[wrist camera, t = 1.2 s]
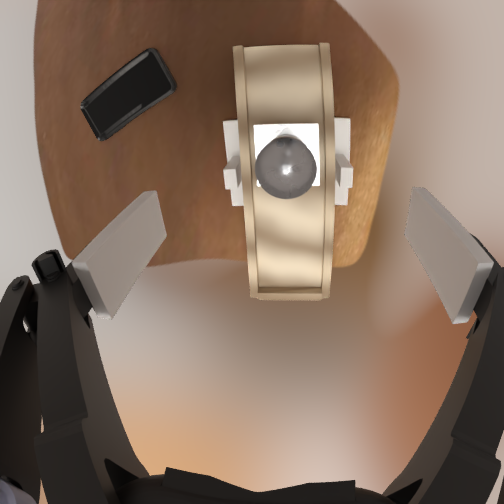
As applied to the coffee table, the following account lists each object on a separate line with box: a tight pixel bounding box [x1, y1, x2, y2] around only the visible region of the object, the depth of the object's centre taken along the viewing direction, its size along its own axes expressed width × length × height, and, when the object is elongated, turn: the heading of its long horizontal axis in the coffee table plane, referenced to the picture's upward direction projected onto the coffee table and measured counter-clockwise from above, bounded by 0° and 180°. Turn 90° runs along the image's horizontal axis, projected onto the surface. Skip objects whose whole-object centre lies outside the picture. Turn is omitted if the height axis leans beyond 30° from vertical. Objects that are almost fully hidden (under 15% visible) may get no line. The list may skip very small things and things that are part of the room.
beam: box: [233, 43, 336, 300], centre depth 32 cm, size 30×11×5 cm, turn 4°
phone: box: [81, 48, 177, 141], centre depth 33 cm, size 8×1×15 cm
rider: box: [254, 124, 319, 199], centre depth 24 cm, size 6×6×13 cm
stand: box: [223, 117, 353, 206], centre depth 36 cm, size 20×16×7 cm
